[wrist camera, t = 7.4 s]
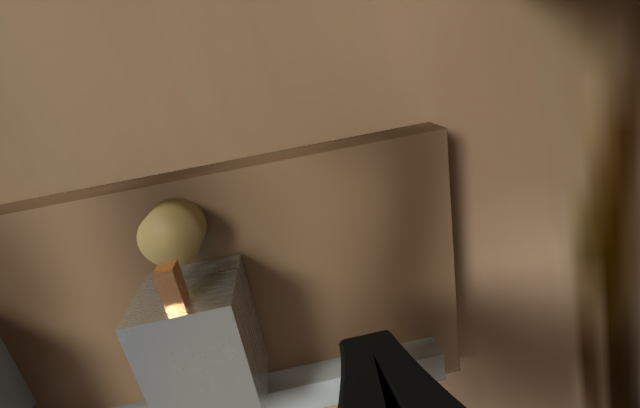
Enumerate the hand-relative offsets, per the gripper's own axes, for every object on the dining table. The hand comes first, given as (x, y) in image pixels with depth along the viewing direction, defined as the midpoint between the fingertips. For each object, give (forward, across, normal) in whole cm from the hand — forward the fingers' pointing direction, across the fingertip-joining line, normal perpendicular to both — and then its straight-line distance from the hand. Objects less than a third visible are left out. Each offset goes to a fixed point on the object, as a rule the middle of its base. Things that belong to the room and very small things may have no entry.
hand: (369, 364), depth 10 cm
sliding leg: (+4, +5, 0) cm, 6 cm away
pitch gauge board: (+5, +6, 0) cm, 8 cm away
